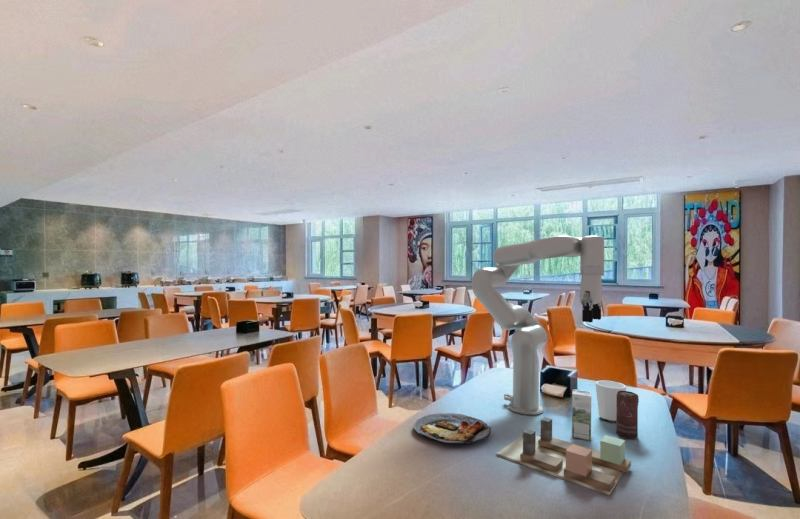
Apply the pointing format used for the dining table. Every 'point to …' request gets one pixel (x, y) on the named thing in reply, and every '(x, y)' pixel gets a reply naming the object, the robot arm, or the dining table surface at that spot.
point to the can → (627, 415)
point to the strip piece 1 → (537, 453)
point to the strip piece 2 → (593, 479)
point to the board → (516, 449)
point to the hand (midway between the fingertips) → (591, 320)
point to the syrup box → (581, 414)
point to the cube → (612, 449)
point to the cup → (608, 398)
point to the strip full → (562, 445)
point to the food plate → (452, 428)
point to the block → (579, 460)
